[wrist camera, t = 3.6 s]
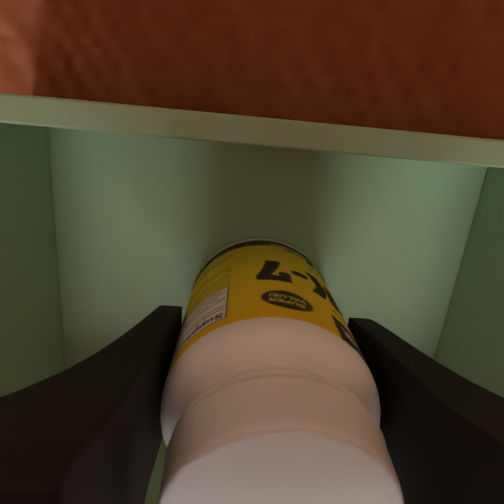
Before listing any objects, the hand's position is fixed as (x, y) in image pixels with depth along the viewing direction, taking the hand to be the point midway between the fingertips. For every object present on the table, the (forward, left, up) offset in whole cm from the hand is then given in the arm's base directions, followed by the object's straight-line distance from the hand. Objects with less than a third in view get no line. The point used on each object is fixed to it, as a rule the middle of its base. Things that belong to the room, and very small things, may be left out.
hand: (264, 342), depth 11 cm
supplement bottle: (0, 0, -3) cm, 3 cm away
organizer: (0, 0, -3) cm, 3 cm away
